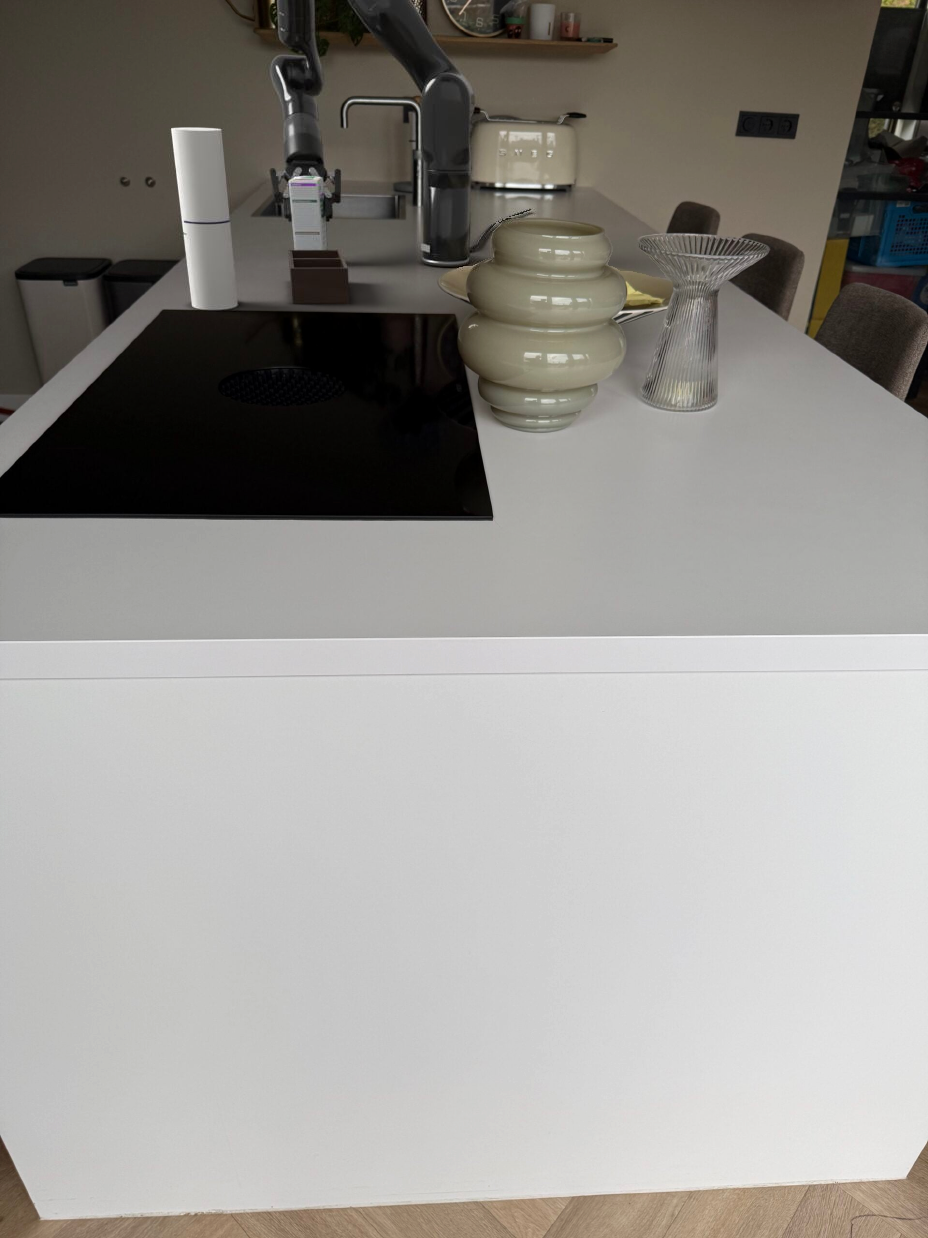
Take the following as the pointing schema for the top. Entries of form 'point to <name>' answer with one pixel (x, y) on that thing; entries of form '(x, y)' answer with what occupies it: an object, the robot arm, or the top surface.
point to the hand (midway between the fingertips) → (309, 218)
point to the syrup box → (308, 213)
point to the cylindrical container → (205, 217)
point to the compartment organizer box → (318, 276)
